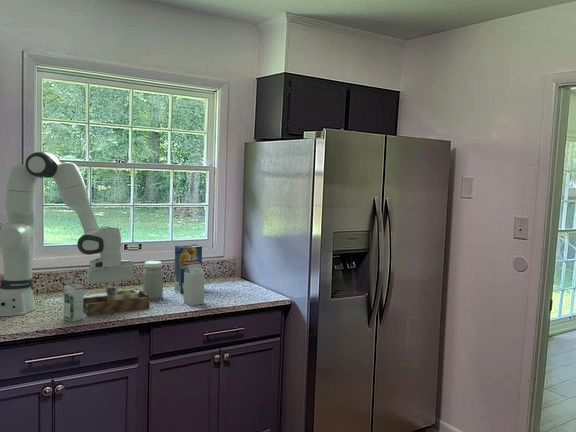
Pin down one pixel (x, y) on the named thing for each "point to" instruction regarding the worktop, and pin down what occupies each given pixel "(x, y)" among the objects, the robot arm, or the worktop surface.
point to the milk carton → (194, 285)
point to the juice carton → (185, 263)
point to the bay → (114, 304)
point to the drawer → (121, 294)
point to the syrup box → (73, 302)
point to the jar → (153, 279)
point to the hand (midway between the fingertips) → (110, 291)
